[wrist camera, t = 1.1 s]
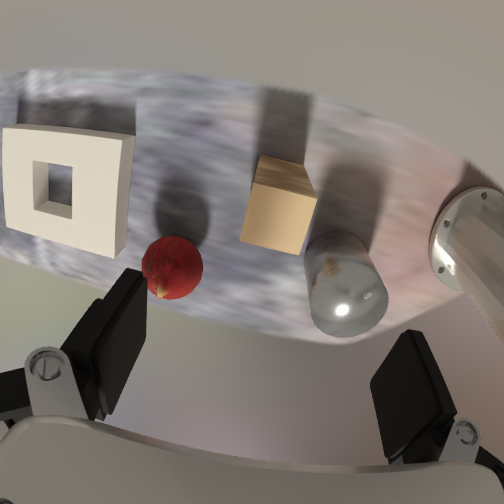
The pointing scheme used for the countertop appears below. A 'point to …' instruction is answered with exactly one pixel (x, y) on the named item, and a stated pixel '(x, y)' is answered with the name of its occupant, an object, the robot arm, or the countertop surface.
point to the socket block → (83, 185)
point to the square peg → (279, 206)
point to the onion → (172, 267)
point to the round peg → (343, 285)
